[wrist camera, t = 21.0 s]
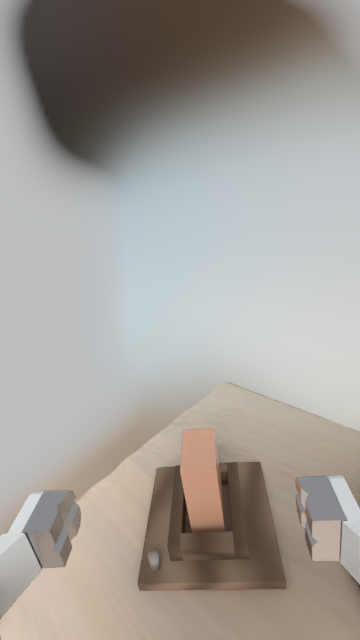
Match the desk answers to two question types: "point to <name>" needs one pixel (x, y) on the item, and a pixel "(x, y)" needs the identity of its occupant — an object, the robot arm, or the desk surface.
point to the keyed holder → (212, 537)
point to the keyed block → (202, 481)
